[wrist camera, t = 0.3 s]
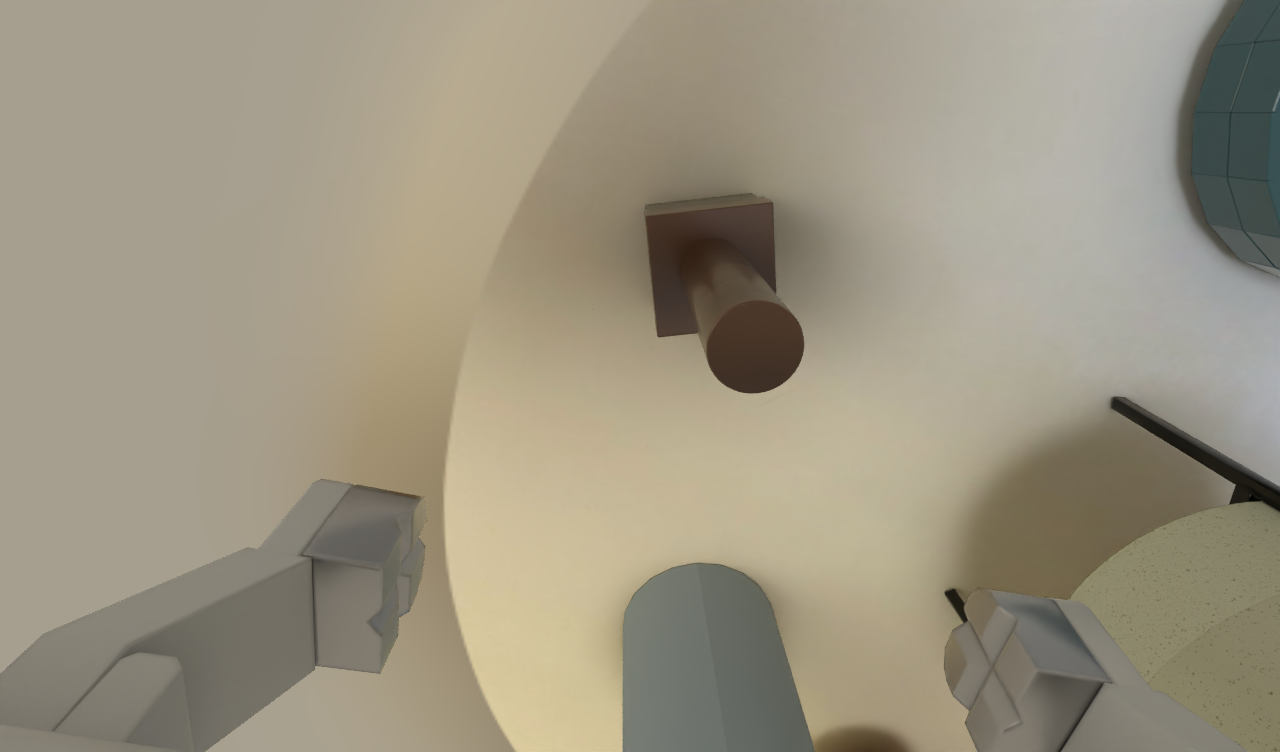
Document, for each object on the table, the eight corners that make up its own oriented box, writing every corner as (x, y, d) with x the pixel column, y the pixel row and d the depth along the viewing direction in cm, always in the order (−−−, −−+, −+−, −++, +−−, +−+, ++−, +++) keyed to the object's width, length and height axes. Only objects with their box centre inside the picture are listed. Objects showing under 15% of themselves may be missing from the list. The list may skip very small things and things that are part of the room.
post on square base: (642, 202, 32) (655, 268, 19) (754, 190, 32) (846, 248, 19) (653, 310, 34) (672, 440, 21) (759, 299, 34) (846, 421, 21)
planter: (1262, 395, 37) (2169, 802, 15) (1179, 638, 42) (1753, 1186, 21) (973, 397, 36) (1481, 818, 15) (929, 642, 42) (1249, 1202, 20)
